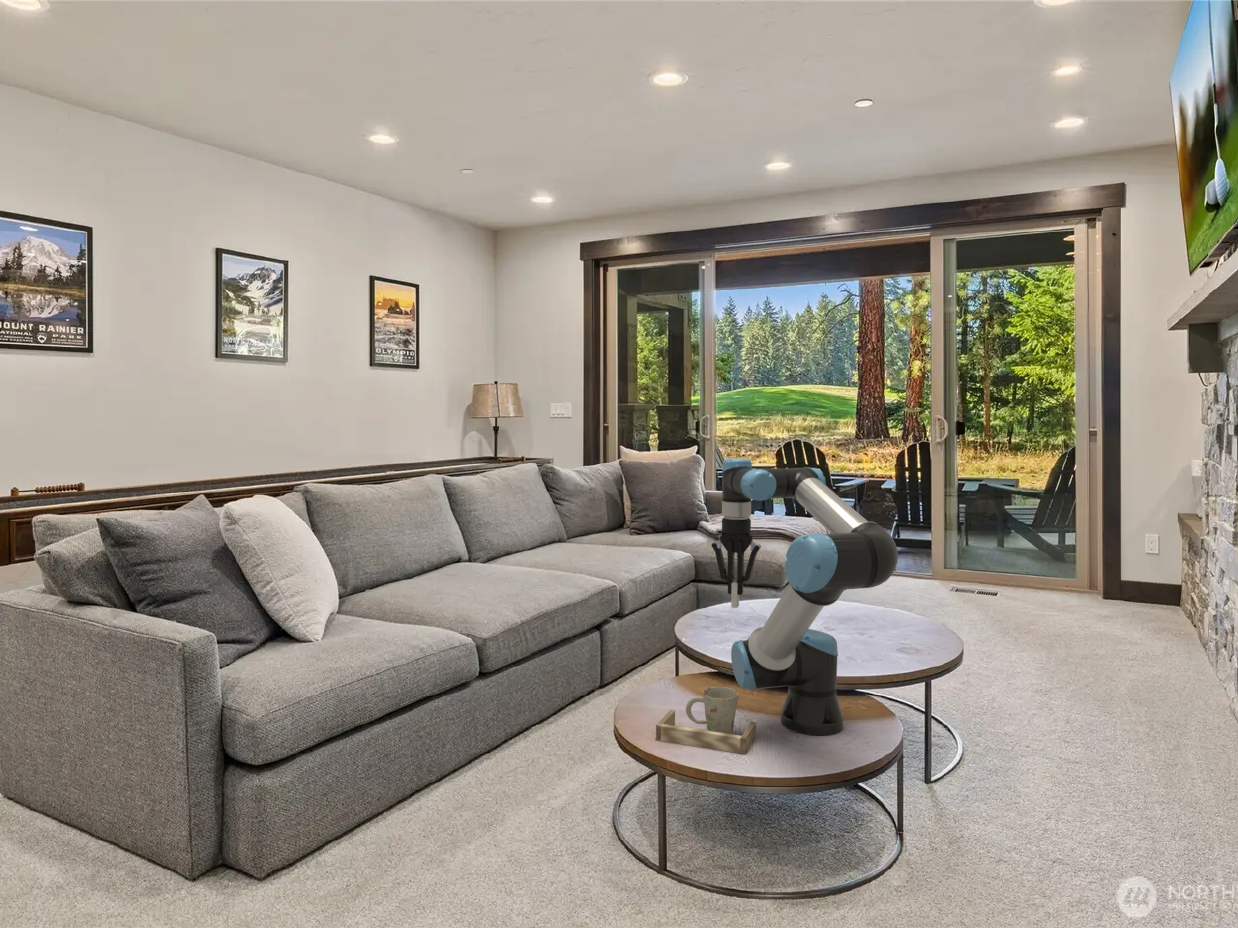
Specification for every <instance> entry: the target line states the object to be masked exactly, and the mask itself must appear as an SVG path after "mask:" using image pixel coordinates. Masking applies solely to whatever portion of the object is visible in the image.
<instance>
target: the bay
mask: <svg viewBox="0 0 1238 928" xmlns="http://www.w3.org/2000/svg"><path fill="white" fill-rule="evenodd" d="M756 726H757V722H756V721H752V720H751V721H750V722H749V724H748V725H747V727H746V728H745V730H744V732H743V733H742V735H739V734H733V733H732V734H726V733H719V732H713V731H707V729H706V730H705V729H700V728H699V729H698V728H693V727H692V728H691V727H686V726H679V725H676V709H675V710H674V709H670V710H668V712H667V713H666V714H665V715H664V716H663V717H662V718H661V719H660V720H659V721H658V723H657V724H656V725H655V741H661V742H666V743H673V744H679V745H686V746H692V747H698V748H702V749H703V748H704V749H711V750H716V751H717V750H718V751H722V752H730V753H736V754H742V755H746V754H747V751H748V750H749V749H750V747H751V745H752V743H753V741H754V740H755V738H756V736H757V734H756V732H757V731H756V728H757V727H756Z"/></svg>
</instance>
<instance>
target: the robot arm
mask: <svg viewBox="0 0 1238 928" xmlns="http://www.w3.org/2000/svg"><path fill="white" fill-rule="evenodd" d="M752 465H753V464H752V461H751V459H750V458H745V457H744V458H743V457H742V458H741V457H740V458H739V457H736V458H735V457H732V458H731V457H730V458H725V459H724V460H723V462H722V471H721V474H722V475H721V477H722V478H721V481H722V483H721V487H722V489H721V490H722V491H721V493H722V495H721V496H722V497H721V503H722V504H721V516H722V518H721V535H720V537H719V539H718V540H717V541H714V542H712V543H711V547H712V549H713V551H714V553H715V554H714V555H715V557H716V562H717V566H718V572H719V575H720V578H721V580H725V581H726V583H727V594H728V595H731V596H730V597H731V598H730V599H731V601H730V603H731V604H730V605H731V606H730V607H731V608H733V609H737V608H739V606H740V596H742V595H743V594H744V582H748V581H750V579H751V578H752V573H753V569H754V566H755V561H756V558H757V555H758V553H759V551H760V549H762V548H761V547H762V546H761V545H760V544H757V543H756V542H755V541H753V537H752V534H751V530H752V520H751V518H750V517H751V516H752V500H753V501H766V500H770V499H794V500H795V501H797V503H799V505H801V506H802V507H803V508H804V509H805V510H806V511H807V512H808V513H809V514H810V515H811V517H813V518H814V519H815V520H816V521H817V522H818V523H819V524H820V525H821V526H823V528H825V529H826V530H827V531H828V532H829V533H821V532H813V533H810V534H802V535H800V536H798V537H796V538H795V539H793V541H792V542H791V543H790V544H789V547H788V548H787V551H786V554H785V558H786V560H785V561H784V570H785V576H786V579H787V581H788V586H787V587H786V589H785V591H784V592H783V594H782V595H781V597H780V599H779V600H778V602H777V603H776V604H775V607H774V608H773V610H772V612H771V613H770V615H769V616H768V617H767V620H766V621H765V623H764V625H763V626H760V627H758V628H756V629H754V630H753V631H752V633H751V634H750V635H749V637H748V638H747V639H745V640H744V639H743V640H742V639H739V640H736V641H734V642H733V644H732V646H731V651H730V654H731V655H730V657H731V658H730V659H731V666H732V671H733V674H734V677H735V679H736V682H737V684H738V685H739V686H740V688H741V689H743V690H746V691H747V690H754V691H756V690H762V689H770V688H772V689H773V688H781V687H788V690H787V694H786V697H785V700H784V702H783V706H782V708H781V711H780V723H781V725H782V726H783V727H785V728H786V729H788V730H790V731H793V732H795V733H799V734H804V735H810V736H827V735H828V736H829V735H833V734H837V733H839V732H840V731H842V730H843V729H844V715H843V712H842V709H841V706H840V703H839V699H838V694H837V688H838V687H837V685H838V681H837V680H838V679H837V678H838V657H839V654H838V653H839V652H838V642H837V640H836V638H835V637H834V636H833V635H831V634H829V633H827V632H824V631H820V630H816V629H810V627H811V626H812V624H813V623H814V621H815V620H816V618H817V617H818V616H819V614H820V613H821V612H822V610H823V608H824V607H827V606H831V605H833V604H835V603H836V602H837V601H838V600H839V598H840V597H841V596H842V594H843V593H844V592H845V591H847V590H855V589H856V590H858V589H871V588H875V587H878V586H880V585H882V584H884V583H885V582H887V580H889V579H890V577H892V575H893V574H894V572H895V570H896V568H897V565H898V560H899V559H898V558H899V551H898V547H897V544H896V542H895V540H894V538H893V537H892V536H891V534H890V533H889V531H887V530H886V529H885V528H884V527H882V526H881V525H880V524H879V523H877V522H875V521H868V520H867V519H866V518H865V517H863V516H862V515H861V514H860V513H859V512H858V511H856V510H855V509H854V508H853V507H851V506H850V505H849V504H848V503H847V502H845V500H843V498H841V497H839V495H837V494H836V493H835V492H834V490H832V489H830V488H829V487H828V485H826V476H824V472H823V471H822V470H821V469H819V468H817V467H809V466H808V467H806V466H804V467H792V468H791V467H790V468H789V467H788V468H786V467H785V468H782V467H780V468H779V467H778V468H777V467H776V468H753V466H752ZM723 547H724V549H725V550H726V553H727V554H726V555H727V566H726V563H725V559H724V554H723V551H722V548H723ZM749 547H750V551H751V552H750V555H749V558H748V562H747V564H746V565H747V566H746V570H745V552H746V551H747V549H748V548H749ZM735 554H736V557H737V560H736V561H737V563H736V564H737V567H736V568H737V570H736V573H737V574H736V575H737V576H736V577H737V578H736V580H735Z"/></svg>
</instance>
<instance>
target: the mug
mask: <svg viewBox="0 0 1238 928" xmlns="http://www.w3.org/2000/svg"><path fill="white" fill-rule="evenodd" d="M738 698H739V692H738V691H737V690H735V689H733V688H731V687H726V686H712V687H708V688H705V689H703V692H702V696H694V697H692V698H690V699H689V700H688V702H687V703H686V707H685V713H686V716H687V717H688V719H690V721H691V722H693V723H695V724H697V725H706V731H713V732H719V733H726V734H732V735H733V733H734V726H735V719H736V713H737V712H736V711H737V706H738ZM695 703H703V704H704V705H703V706H704V713H705V720H704V719H703V720H700V719H697V718H696V717H695V716H694V714H693V713H692V707H693V705H694V704H695Z"/></svg>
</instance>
